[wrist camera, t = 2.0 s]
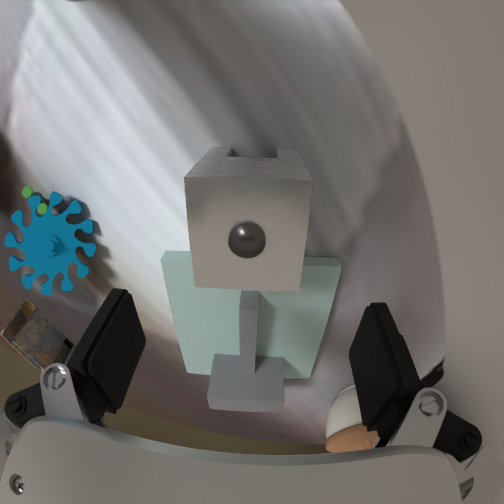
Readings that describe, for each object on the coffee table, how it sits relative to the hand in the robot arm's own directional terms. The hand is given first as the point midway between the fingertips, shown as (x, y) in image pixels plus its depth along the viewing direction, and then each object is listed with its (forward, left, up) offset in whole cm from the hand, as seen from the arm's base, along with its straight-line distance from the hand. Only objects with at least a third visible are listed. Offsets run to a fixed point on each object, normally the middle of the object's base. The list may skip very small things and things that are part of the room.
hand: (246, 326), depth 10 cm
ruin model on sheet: (+20, -32, -14) cm, 41 cm away
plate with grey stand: (+14, 0, -14) cm, 20 cm away
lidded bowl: (+31, +18, -14) cm, 39 cm away
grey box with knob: (-1, 0, -14) cm, 14 cm away
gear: (+2, -20, -14) cm, 24 cm away
